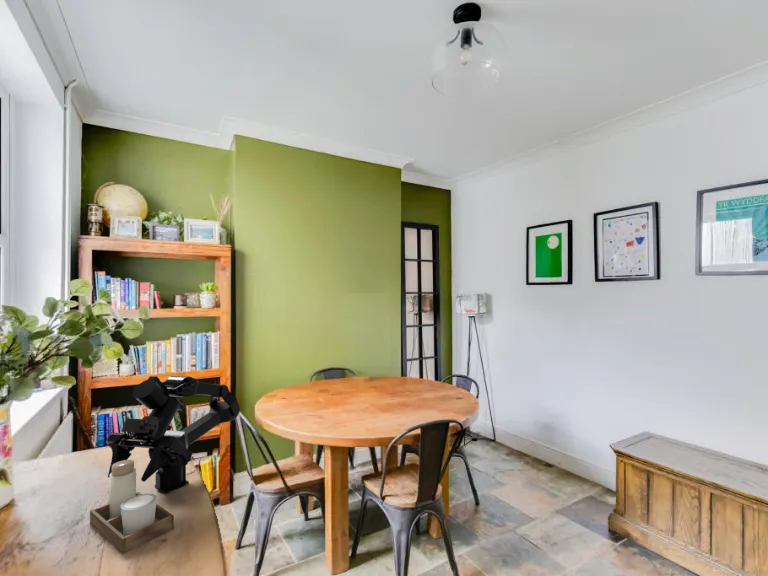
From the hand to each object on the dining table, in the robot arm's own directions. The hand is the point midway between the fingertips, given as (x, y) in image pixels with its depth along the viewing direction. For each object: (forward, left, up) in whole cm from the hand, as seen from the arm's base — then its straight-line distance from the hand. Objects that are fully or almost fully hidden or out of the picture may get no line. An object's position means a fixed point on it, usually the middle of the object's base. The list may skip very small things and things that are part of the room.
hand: (125, 479), depth 92 cm
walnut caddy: (+1, +5, -9) cm, 10 cm away
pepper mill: (+1, 0, -9) cm, 9 cm away
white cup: (+1, +9, -9) cm, 13 cm away
